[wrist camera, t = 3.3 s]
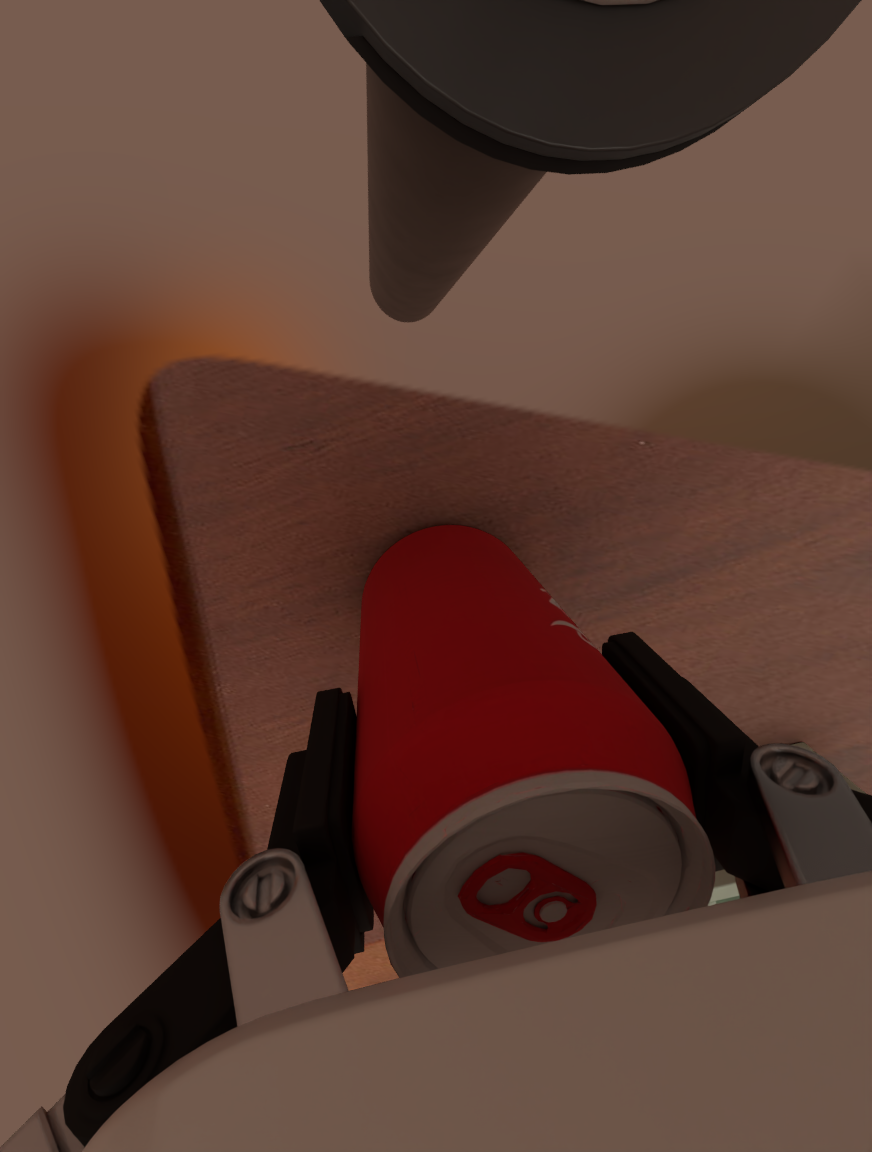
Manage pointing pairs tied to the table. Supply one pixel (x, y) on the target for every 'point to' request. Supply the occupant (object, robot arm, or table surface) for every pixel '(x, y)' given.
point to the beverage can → (505, 766)
